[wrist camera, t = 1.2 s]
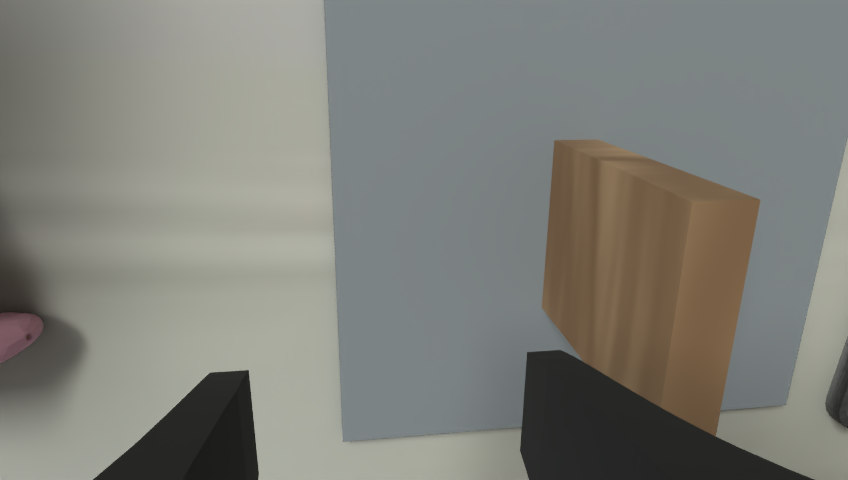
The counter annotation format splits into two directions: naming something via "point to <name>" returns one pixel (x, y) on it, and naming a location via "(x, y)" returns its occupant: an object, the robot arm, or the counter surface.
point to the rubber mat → (532, 171)
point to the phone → (839, 390)
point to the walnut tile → (647, 273)
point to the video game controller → (17, 333)
